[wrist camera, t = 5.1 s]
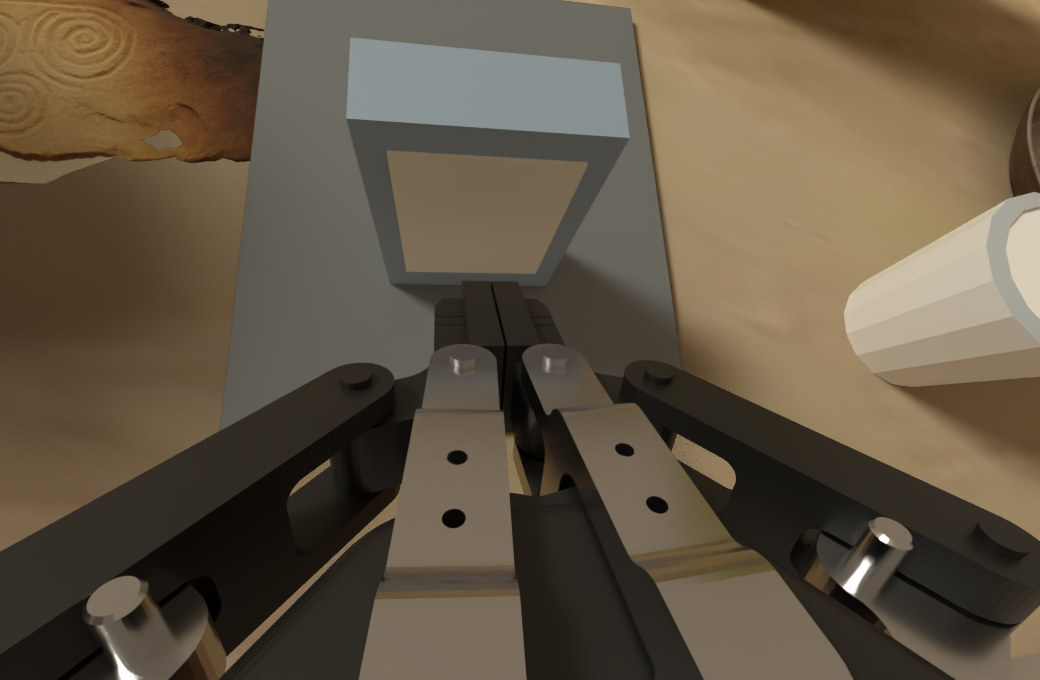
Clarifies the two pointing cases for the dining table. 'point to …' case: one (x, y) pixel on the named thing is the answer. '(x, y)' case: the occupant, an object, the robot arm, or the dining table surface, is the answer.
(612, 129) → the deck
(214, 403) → the dining table surface
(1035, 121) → the saucer
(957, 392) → the dining table surface
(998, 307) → the white tapered cup
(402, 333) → the mat
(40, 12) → the parchment
